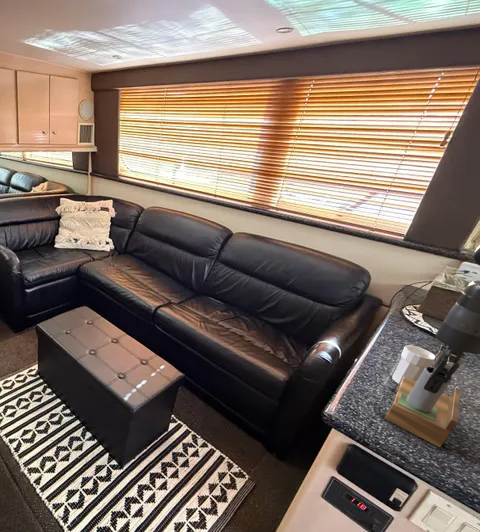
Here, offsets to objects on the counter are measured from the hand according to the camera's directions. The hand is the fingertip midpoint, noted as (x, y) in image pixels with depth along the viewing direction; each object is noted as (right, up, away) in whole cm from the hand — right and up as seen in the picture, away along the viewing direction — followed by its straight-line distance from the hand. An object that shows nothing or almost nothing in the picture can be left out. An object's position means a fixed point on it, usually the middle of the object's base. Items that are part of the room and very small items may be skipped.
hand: (430, 386), depth 77 cm
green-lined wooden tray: (+3, -10, +6) cm, 12 cm away
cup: (+13, -6, +19) cm, 24 cm away
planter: (-1, -6, +2) cm, 7 cm away
